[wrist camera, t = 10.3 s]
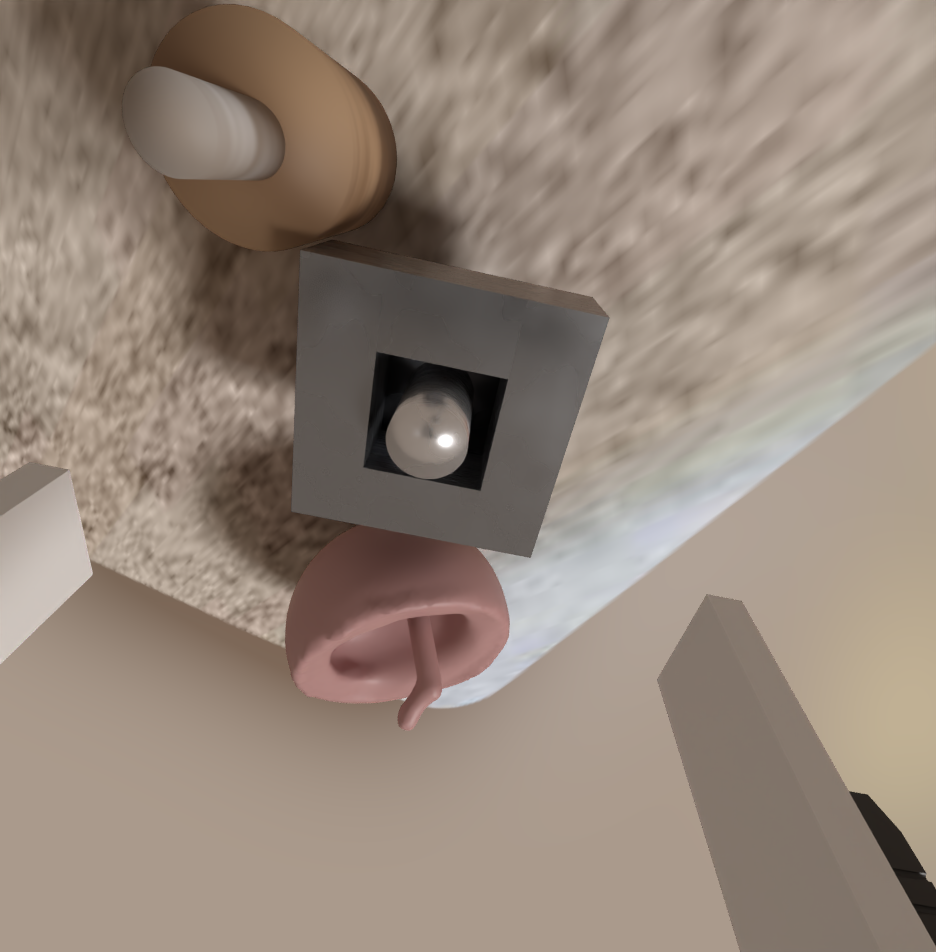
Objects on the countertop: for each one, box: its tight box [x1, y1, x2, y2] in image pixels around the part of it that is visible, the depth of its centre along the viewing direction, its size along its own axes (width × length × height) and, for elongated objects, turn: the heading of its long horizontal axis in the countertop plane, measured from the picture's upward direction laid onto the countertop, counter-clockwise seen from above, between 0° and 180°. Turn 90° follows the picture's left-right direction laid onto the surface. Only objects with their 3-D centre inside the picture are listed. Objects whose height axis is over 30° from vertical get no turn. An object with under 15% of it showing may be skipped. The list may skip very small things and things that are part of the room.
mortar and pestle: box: [285, 525, 510, 730], centre depth 29 cm, size 12×12×12 cm
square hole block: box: [291, 240, 609, 558], centre depth 20 cm, size 10×10×4 cm
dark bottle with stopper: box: [381, 355, 500, 479], centre depth 22 cm, size 7×7×11 cm
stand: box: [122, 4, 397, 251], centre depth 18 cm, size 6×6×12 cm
